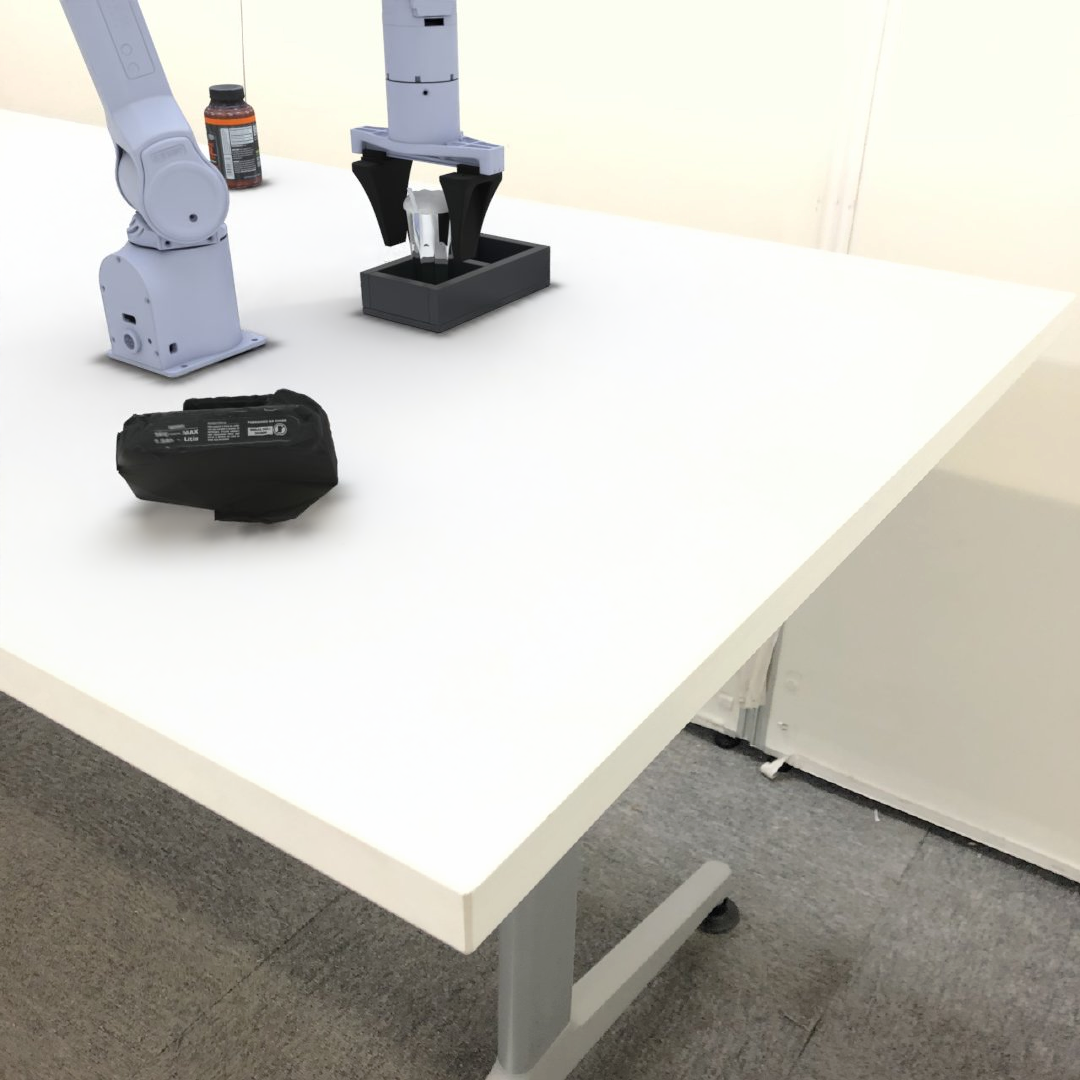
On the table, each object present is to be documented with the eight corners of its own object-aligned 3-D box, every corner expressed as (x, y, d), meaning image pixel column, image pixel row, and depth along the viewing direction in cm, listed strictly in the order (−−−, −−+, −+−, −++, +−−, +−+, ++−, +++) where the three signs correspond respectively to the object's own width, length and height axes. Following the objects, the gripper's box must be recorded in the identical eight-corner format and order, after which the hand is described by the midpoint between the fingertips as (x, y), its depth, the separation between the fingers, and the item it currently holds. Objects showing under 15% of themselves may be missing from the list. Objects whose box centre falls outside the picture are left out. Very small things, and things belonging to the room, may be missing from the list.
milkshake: (393, 305, 96) (385, 184, 91) (427, 288, 100) (421, 172, 95) (438, 313, 94) (432, 191, 89) (471, 295, 98) (467, 177, 93)
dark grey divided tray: (550, 285, 103) (550, 246, 101) (439, 333, 92) (437, 290, 90) (477, 269, 107) (476, 231, 106) (362, 313, 96) (359, 272, 94)
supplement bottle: (209, 181, 139) (195, 84, 134) (257, 177, 141) (245, 81, 136) (218, 191, 135) (205, 91, 129) (268, 187, 137) (256, 88, 131)
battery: (353, 534, 66) (345, 431, 69) (325, 473, 59) (318, 360, 61) (150, 561, 66) (150, 456, 69) (97, 503, 58) (99, 387, 61)
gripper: (527, 80, 87) (527, 254, 94) (386, 65, 94) (396, 227, 101) (471, 91, 82) (475, 274, 89) (327, 74, 89) (341, 245, 96)
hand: (429, 251), depth 94 cm, fingers open, 7 cm apart
